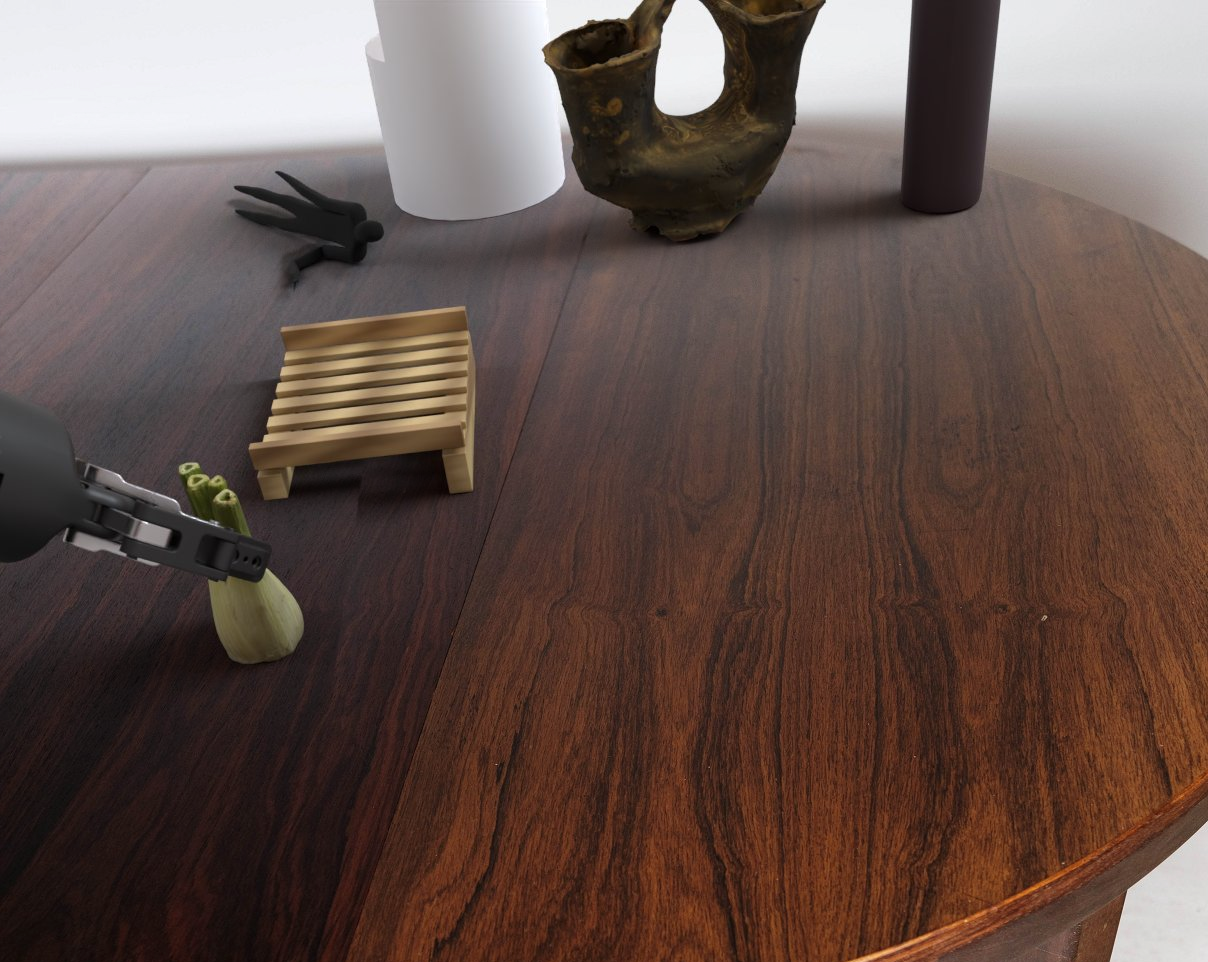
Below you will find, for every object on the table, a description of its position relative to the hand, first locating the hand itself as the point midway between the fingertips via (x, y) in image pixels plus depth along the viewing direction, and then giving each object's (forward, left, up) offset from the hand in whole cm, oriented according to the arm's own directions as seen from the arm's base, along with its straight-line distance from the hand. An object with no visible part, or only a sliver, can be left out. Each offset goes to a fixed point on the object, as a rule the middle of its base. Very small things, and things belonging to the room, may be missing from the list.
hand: (209, 541), depth 70 cm
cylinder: (+13, +73, -9) cm, 75 cm away
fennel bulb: (+1, +1, -9) cm, 9 cm away
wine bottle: (+55, +56, -9) cm, 79 cm away
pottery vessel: (+33, +58, -9) cm, 67 cm away
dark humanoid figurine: (-6, +62, -9) cm, 63 cm away
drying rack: (+6, +25, -9) cm, 27 cm away
